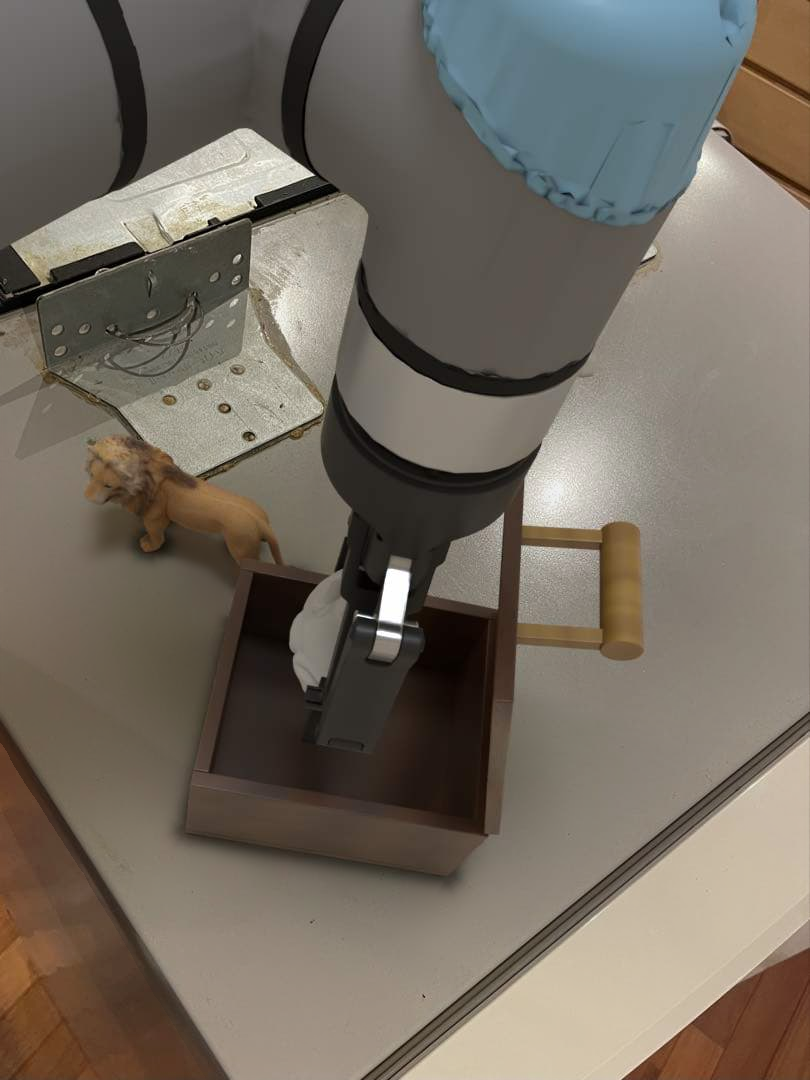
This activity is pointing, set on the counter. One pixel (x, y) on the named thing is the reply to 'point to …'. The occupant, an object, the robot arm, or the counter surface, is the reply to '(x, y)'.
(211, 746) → the chest
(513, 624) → the chest lid
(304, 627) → the frog figurine
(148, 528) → the lion figurine
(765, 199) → the counter surface
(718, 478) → the counter surface
